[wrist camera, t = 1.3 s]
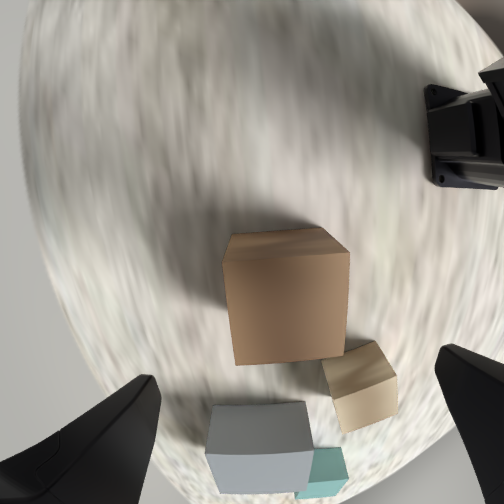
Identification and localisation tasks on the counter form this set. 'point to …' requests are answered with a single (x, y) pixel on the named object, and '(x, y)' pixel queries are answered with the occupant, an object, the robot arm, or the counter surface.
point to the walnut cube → (286, 295)
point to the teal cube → (325, 474)
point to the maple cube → (361, 387)
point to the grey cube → (260, 448)
